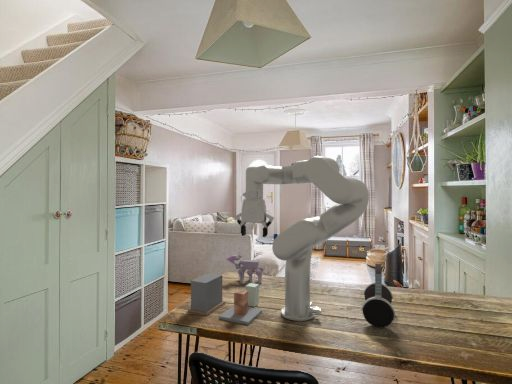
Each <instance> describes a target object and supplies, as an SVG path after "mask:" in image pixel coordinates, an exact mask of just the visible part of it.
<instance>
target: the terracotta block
mask: <svg viewBox="0 0 512 384" xmlns="http://www.w3.org/2000/svg"><path fill="white" fill-rule="evenodd" d="M233 306H234V314H236V315H241V316H244V315H245V314H246V313H248V307H249V306H248V291H246V289H238V290H235V292H233Z"/></svg>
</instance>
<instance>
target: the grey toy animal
mask: <svg viewBox="0 0 512 384" xmlns="http://www.w3.org/2000/svg"><path fill="white" fill-rule="evenodd" d="M226 260H227V261H228V262H230V263H231V264H234V266H235V270H238V271H237V275H238V277H239V283H240V284H242V283H244V281H243V280H244V279H245V271H246V274H247V275H248V277H249V278H248V279H249V284H250V283H253V274H254V272H255V276H257V279H258V280H257V281H258V284H259V285H261V284H262V280H263V279H262V278H263V271H264V267H263V266H260V261H259V260H254V259H244V260H243V255H242V254H232V255H231V256H230V257H228V258H226Z"/></svg>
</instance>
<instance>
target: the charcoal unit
mask: <svg viewBox="0 0 512 384" xmlns="http://www.w3.org/2000/svg"><path fill="white" fill-rule="evenodd" d="M225 304H226V301H224V300H223V275H222V274H216V273H206V274H203V275H201V276H199V277H196V278H193V279H192V280H190V307H189V308H187V312H188V313H193V314H198V315H203V316H209V315H210V314H212V313H214V312H215V311H217V310H218V309H220V308H221V307H222V306H224V305H225Z"/></svg>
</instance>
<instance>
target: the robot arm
mask: <svg viewBox="0 0 512 384" xmlns="http://www.w3.org/2000/svg"><path fill="white" fill-rule="evenodd" d="M292 164H293V165H287V166H274V165H260V166H249V167H247V168H246V169H245V192H243V193H242V197H244V199H243V200H242V204H241V205H242V206H241V212H240V213H238V214H236V215H235V216H234V218H235V219H236V223H237V224H238V225H239V227H240V234H241V236H246V234H247V225H246V224H249V223H250V224H261V225H262V226H263V227H262V238H266V237H267V236H268V235H269V233H268V232H269V231H268V230H269V229H268V228H269V226H271V224H272V223H273V221H274V219H275V218H274V216H272V215H271V214H270V213H268V212H267V207H266V200H265V198H264V185H289V184H308V183H309V184H311V183H312V184H313V185H314V186H315V187H316V188H317V189H318V190H319V191H320V192H321V193H323V194H324V195H325V197H327V198H328V199H329V200H330V201H332V202H333V203H336V204H335V205H333V206H331V207H329V208H328V209H327V210H325V211H324V212H322V213H321V214H318V215H317V216H314V217H307V218H303V219H300V220H298V221H296V222H295V223H294V224H292V225H291V226H290V227H288V228H286V229H284V230H283V231H282V232H281V233H280V234H278V235H277V236H276V237H275V238H274V240H273V241H272V253H273V254H274V256H275V257H276V259H278V260H280V261H285V268H284V270H285V271H284V299H285V300H284V307H282V308H281V310H280V315H281V317H283V318H285V319H287V320H291V321H296V322H303V321H310V320H311V319H313V318H314V317H315V315H319V316H320V315H322V312H323V311H322V309H321V308H320V307H319V306H314V305H313V302H312V301H311V262H312V254H313V249H314V248H313V247H314V246H317V245H320V244H323V243H325V242H326V241H328V240H329V239H331V238H332V237H334V236H335V235H337V234H338V233H340V232H341V231H343V230H344V229H346V228H347V227H349V226H350V225H352V224H353V223H355V222H356V221H358V219H360V218H361V217H362V215H363V214H364V212H366V210H367V207H368V205H369V202H370V201H369V200H370V193H369V188H368V187H367V185H366V184H365V182H363V181H362V180H360V179H358V178H351V177H345V176H344V175H343V174H341V173H340V165H339V163H338V162H337V161H336V160H335V159H333V158H331V157H327V156H321V155H320V156H319V155H315V156H312V157H310V158H308V159H305V160H297V161H295V162H294V163H292ZM267 218H268V219H269V220H268V221H267Z"/></svg>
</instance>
